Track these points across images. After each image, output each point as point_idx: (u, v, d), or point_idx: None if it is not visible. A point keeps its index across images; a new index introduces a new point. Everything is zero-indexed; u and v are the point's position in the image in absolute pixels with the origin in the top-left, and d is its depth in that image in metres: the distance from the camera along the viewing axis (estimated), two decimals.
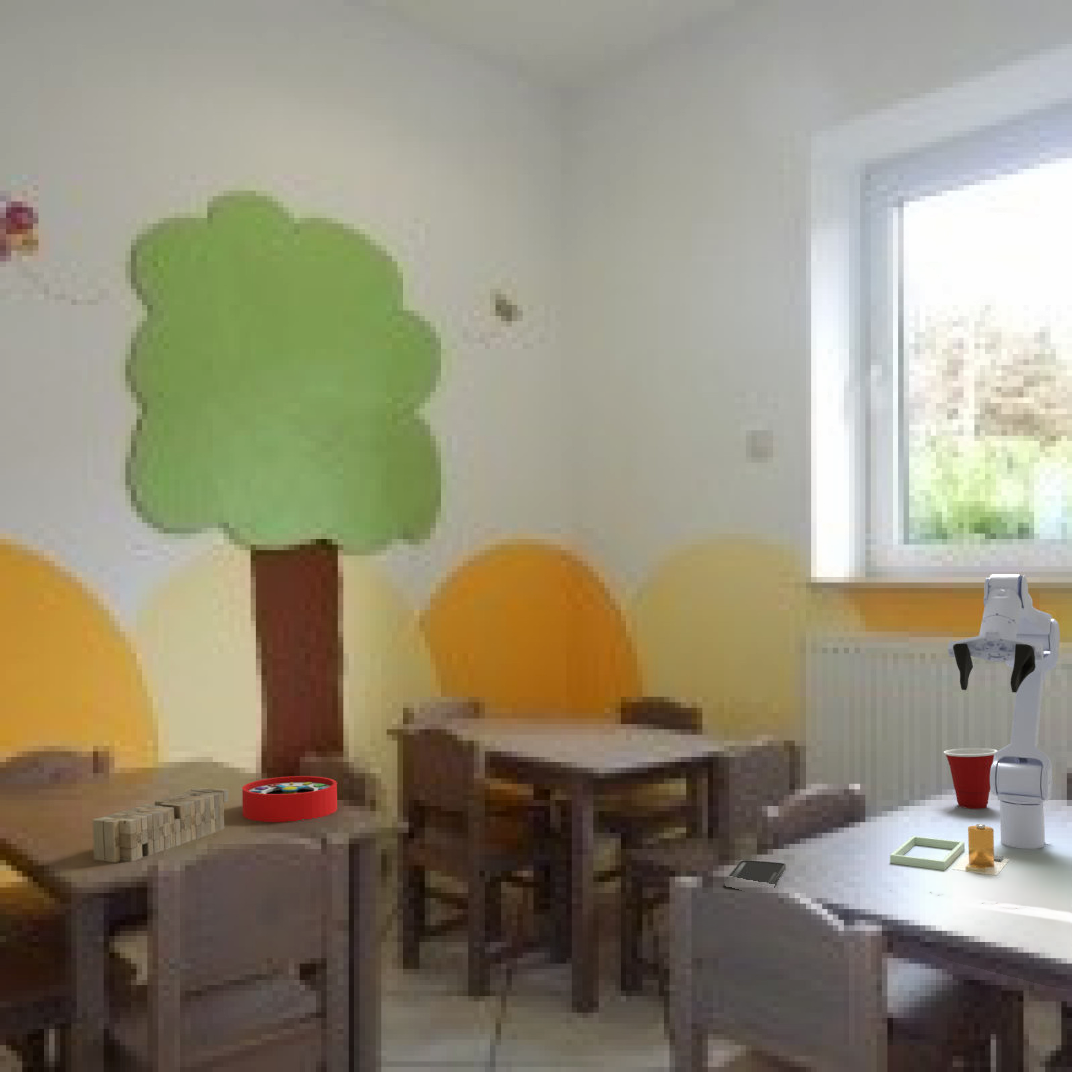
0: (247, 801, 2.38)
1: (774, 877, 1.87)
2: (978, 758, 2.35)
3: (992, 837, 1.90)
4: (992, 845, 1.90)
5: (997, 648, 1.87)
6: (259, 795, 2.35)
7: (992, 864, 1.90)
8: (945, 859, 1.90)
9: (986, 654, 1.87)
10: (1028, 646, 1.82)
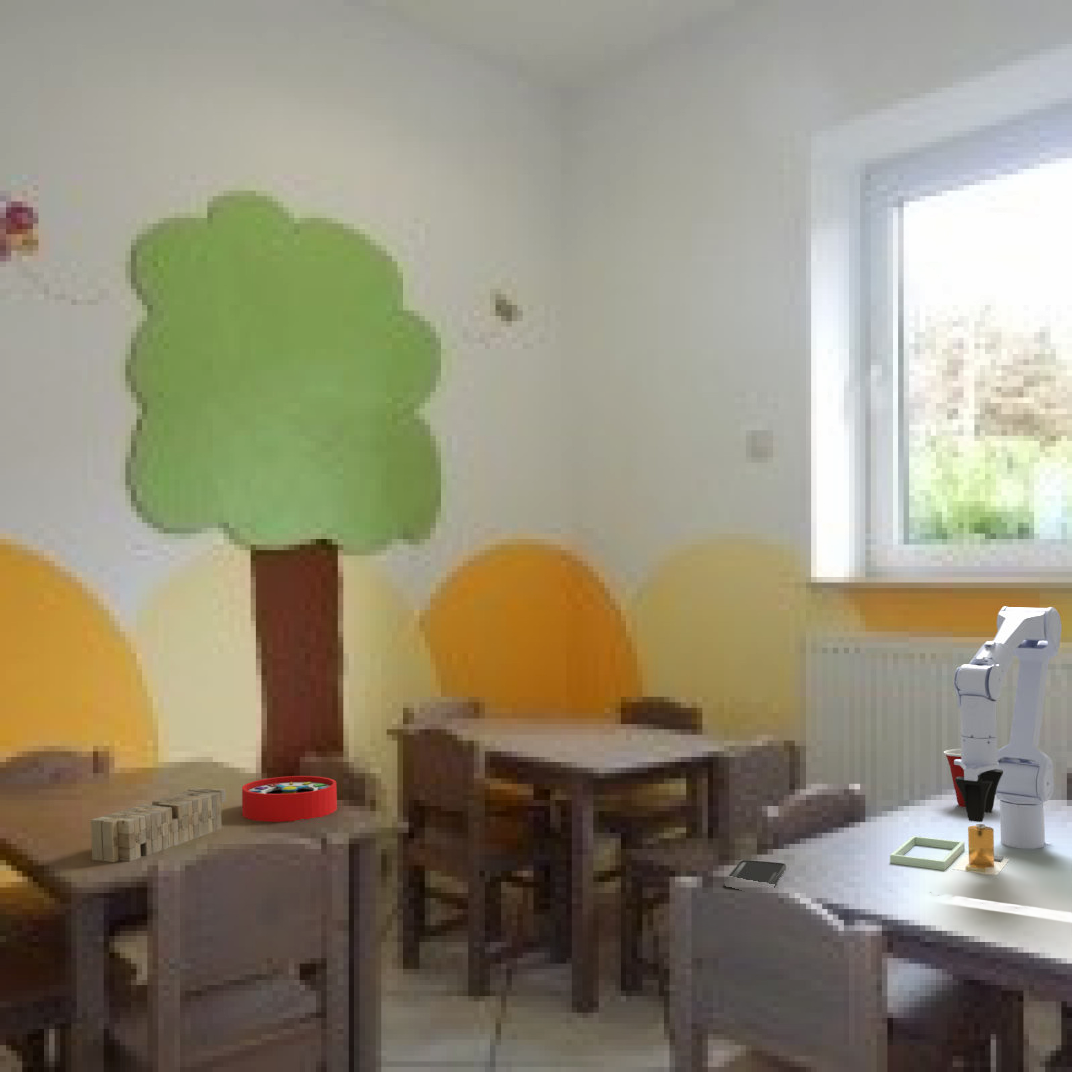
0: (247, 801, 2.38)
1: (774, 877, 1.87)
2: None
3: (992, 837, 1.90)
4: (992, 845, 1.90)
5: None
6: (259, 795, 2.36)
7: (992, 864, 1.90)
8: (945, 859, 1.90)
9: (981, 771, 1.92)
10: (955, 780, 1.88)
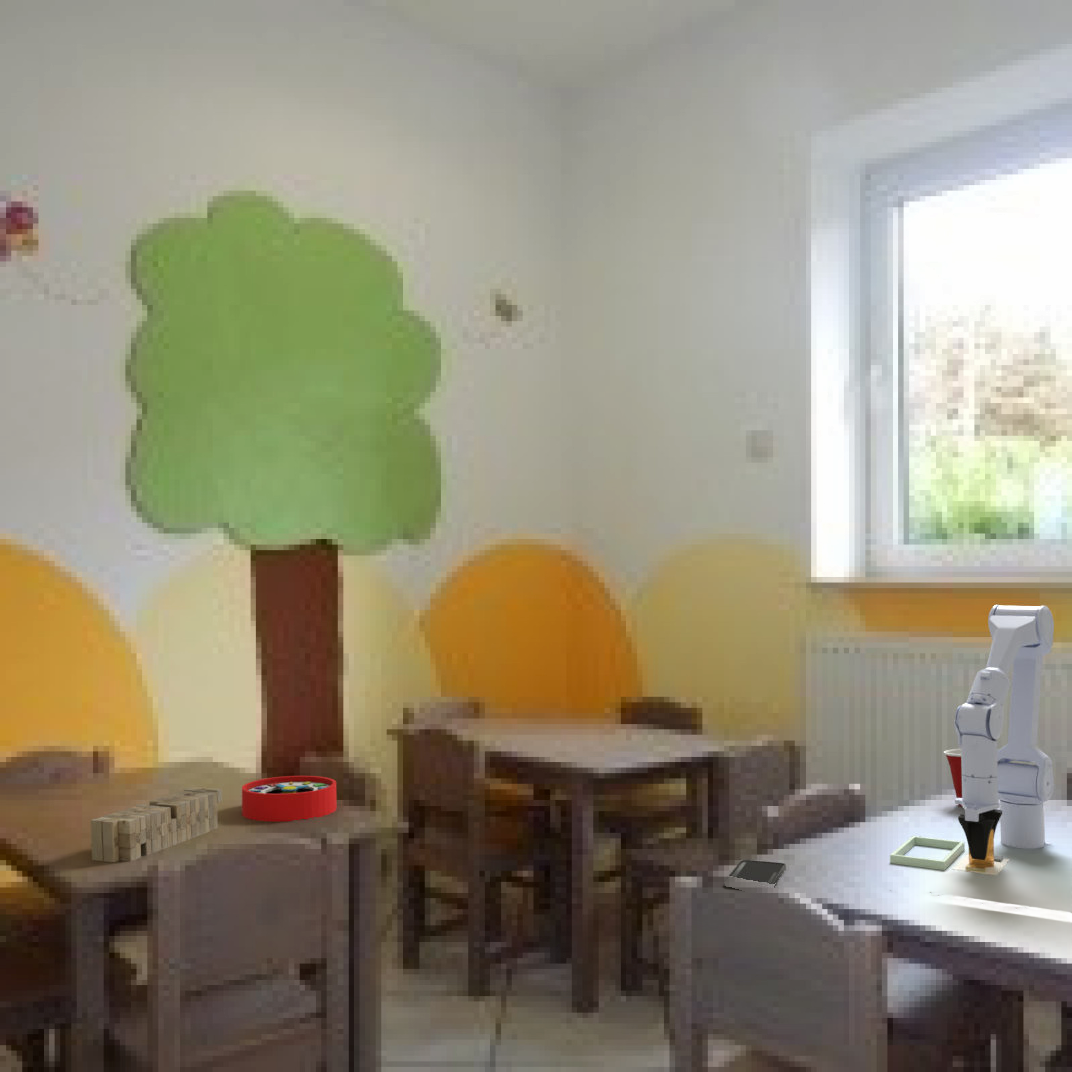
0: (246, 801, 2.38)
1: (774, 877, 1.87)
2: None
3: (992, 837, 1.90)
4: (992, 845, 1.90)
5: None
6: (259, 795, 2.36)
7: (992, 864, 1.90)
8: (945, 859, 1.90)
9: None
10: (958, 818, 1.89)
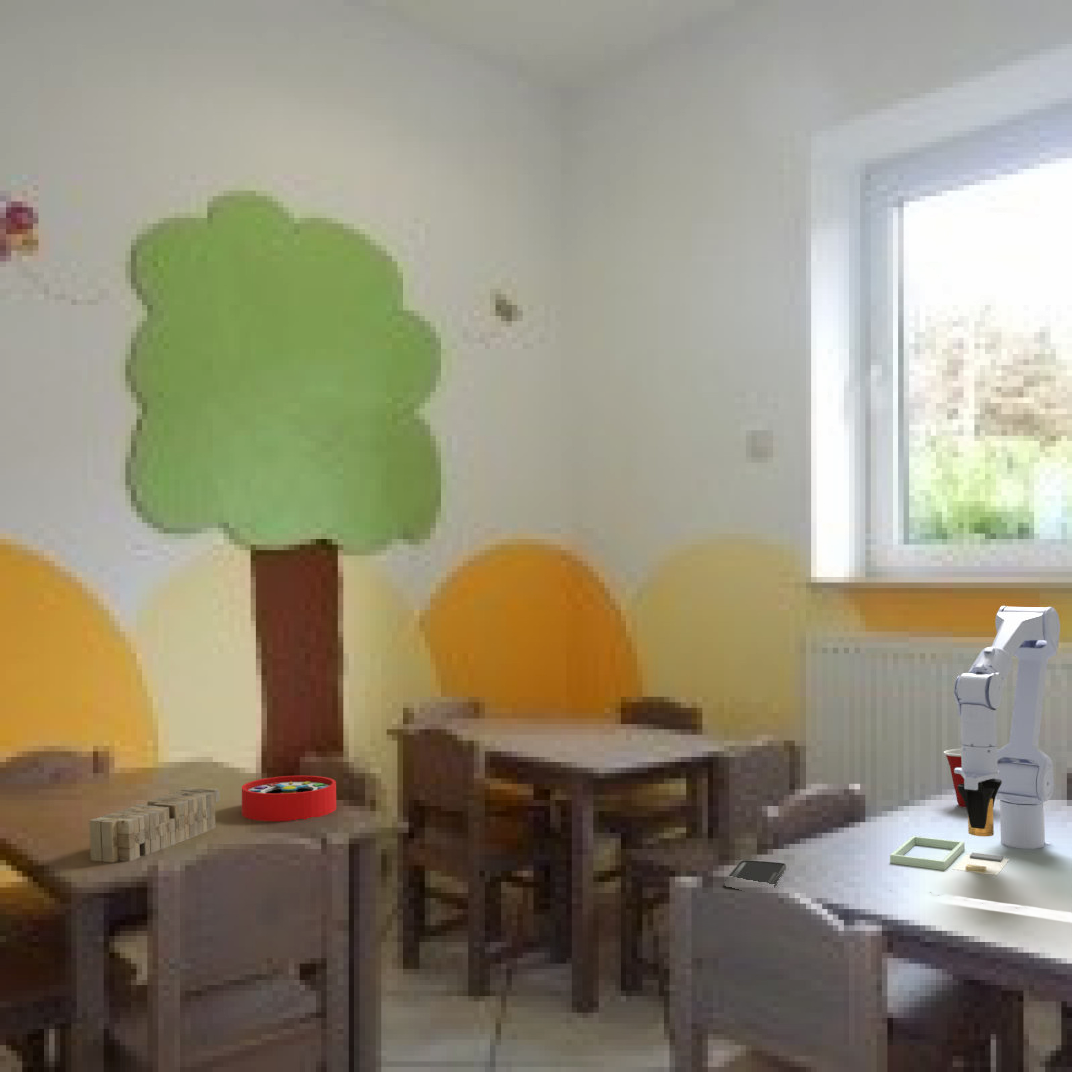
0: (246, 801, 2.39)
1: (774, 877, 1.87)
2: None
3: (991, 806, 1.90)
4: (991, 814, 1.90)
5: None
6: (258, 794, 2.36)
7: (991, 833, 1.90)
8: (945, 859, 1.90)
9: None
10: (958, 787, 1.89)
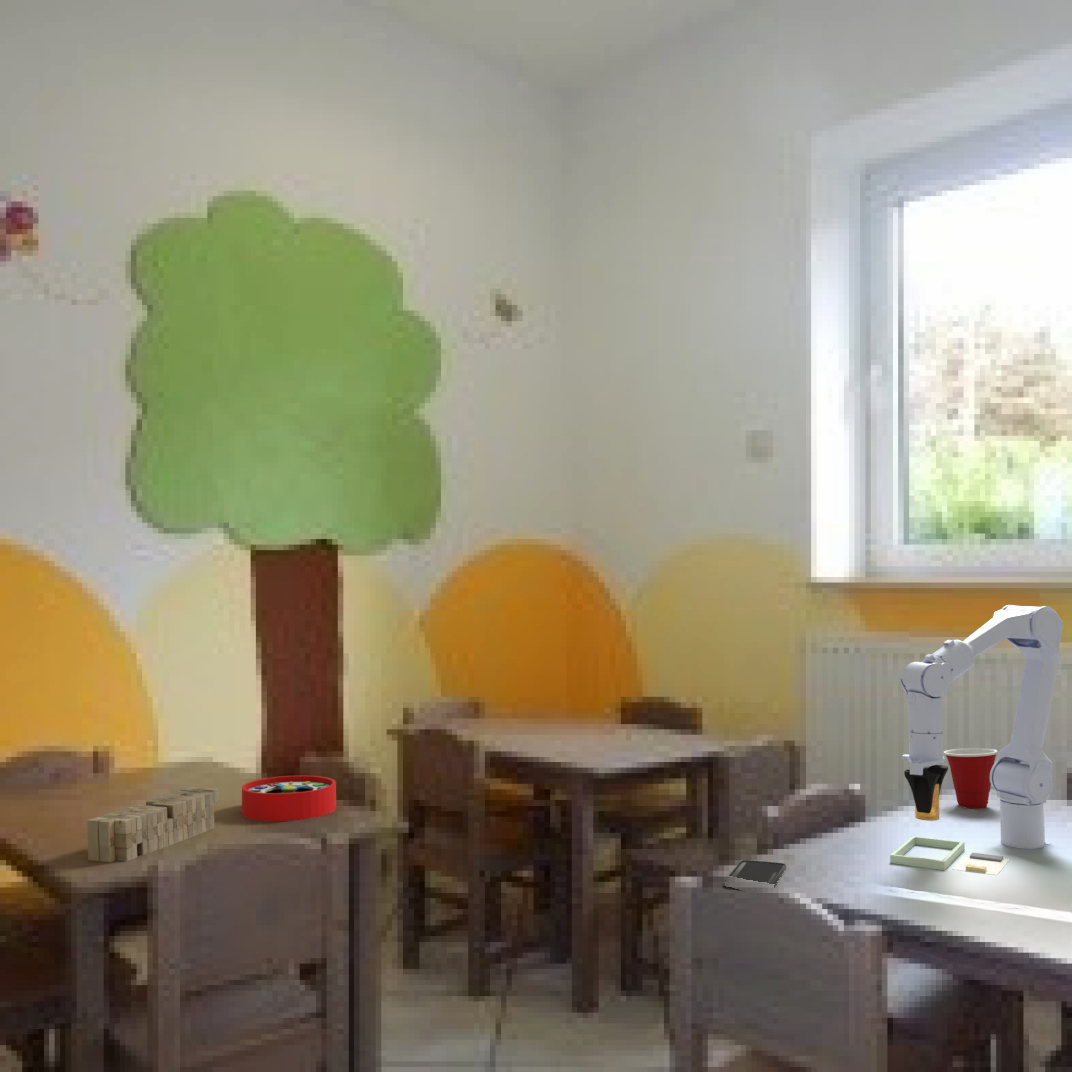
0: (246, 801, 2.39)
1: (774, 877, 1.87)
2: (978, 758, 2.35)
3: (937, 791, 1.96)
4: (937, 799, 1.96)
5: None
6: (258, 794, 2.36)
7: (937, 817, 1.95)
8: (945, 859, 1.90)
9: None
10: (904, 773, 1.95)
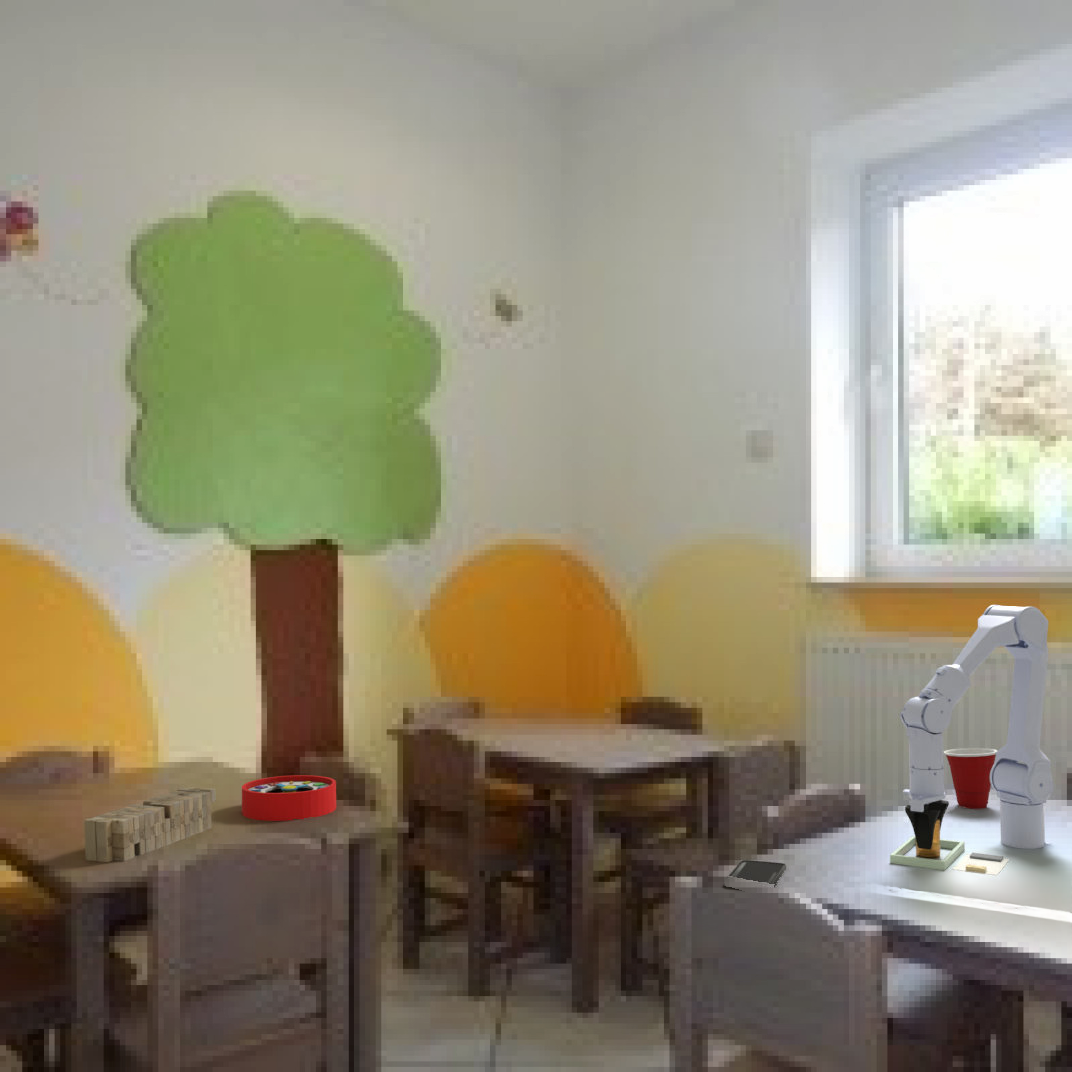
0: (246, 800, 2.39)
1: (774, 877, 1.87)
2: (978, 758, 2.35)
3: (938, 828, 1.96)
4: (938, 835, 1.96)
5: None
6: (258, 794, 2.37)
7: (938, 854, 1.95)
8: (945, 859, 1.90)
9: None
10: (905, 809, 1.95)
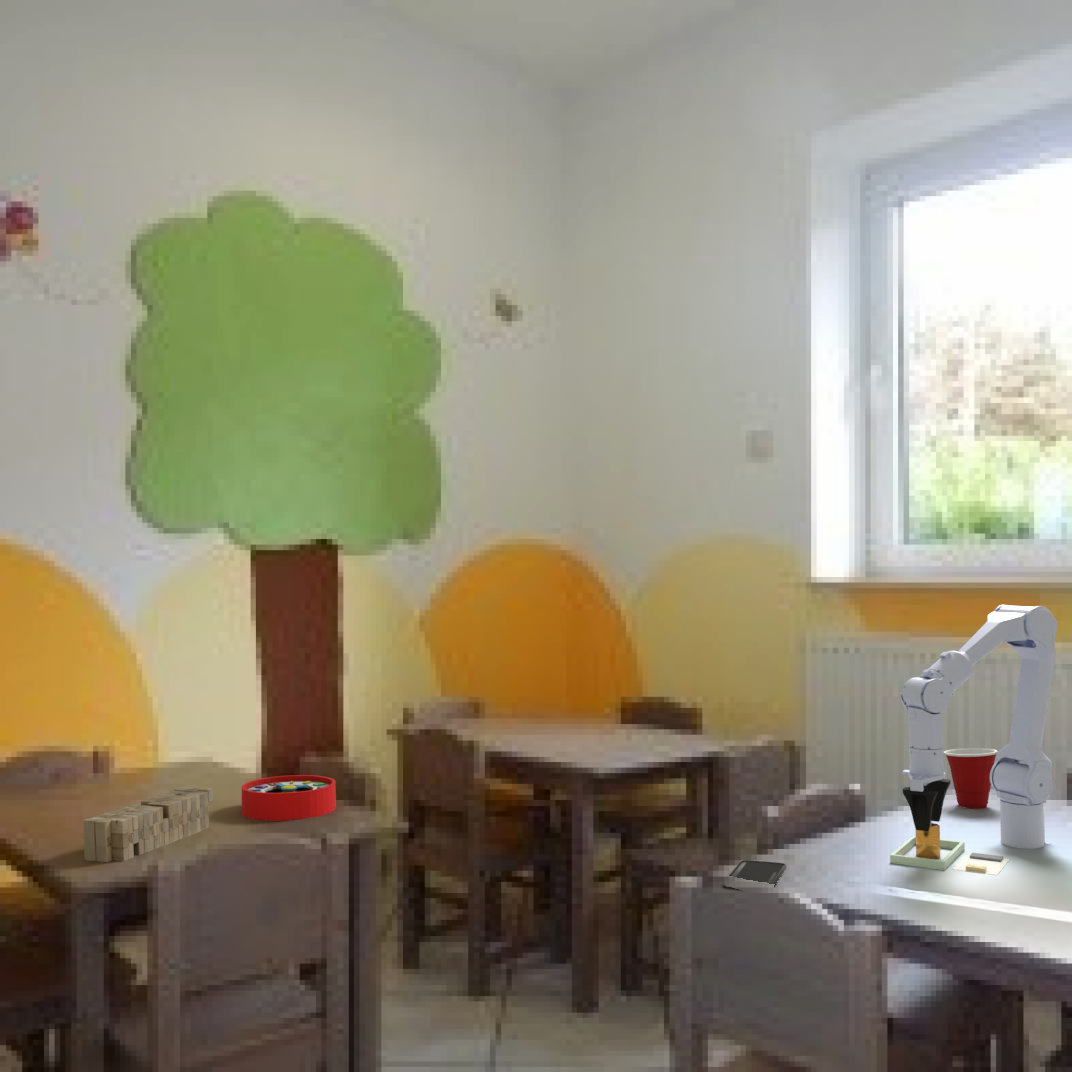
0: (245, 800, 2.39)
1: (774, 877, 1.87)
2: (978, 758, 2.35)
3: (938, 833, 1.96)
4: (938, 841, 1.96)
5: None
6: (257, 794, 2.37)
7: None
8: (945, 859, 1.90)
9: None
10: None
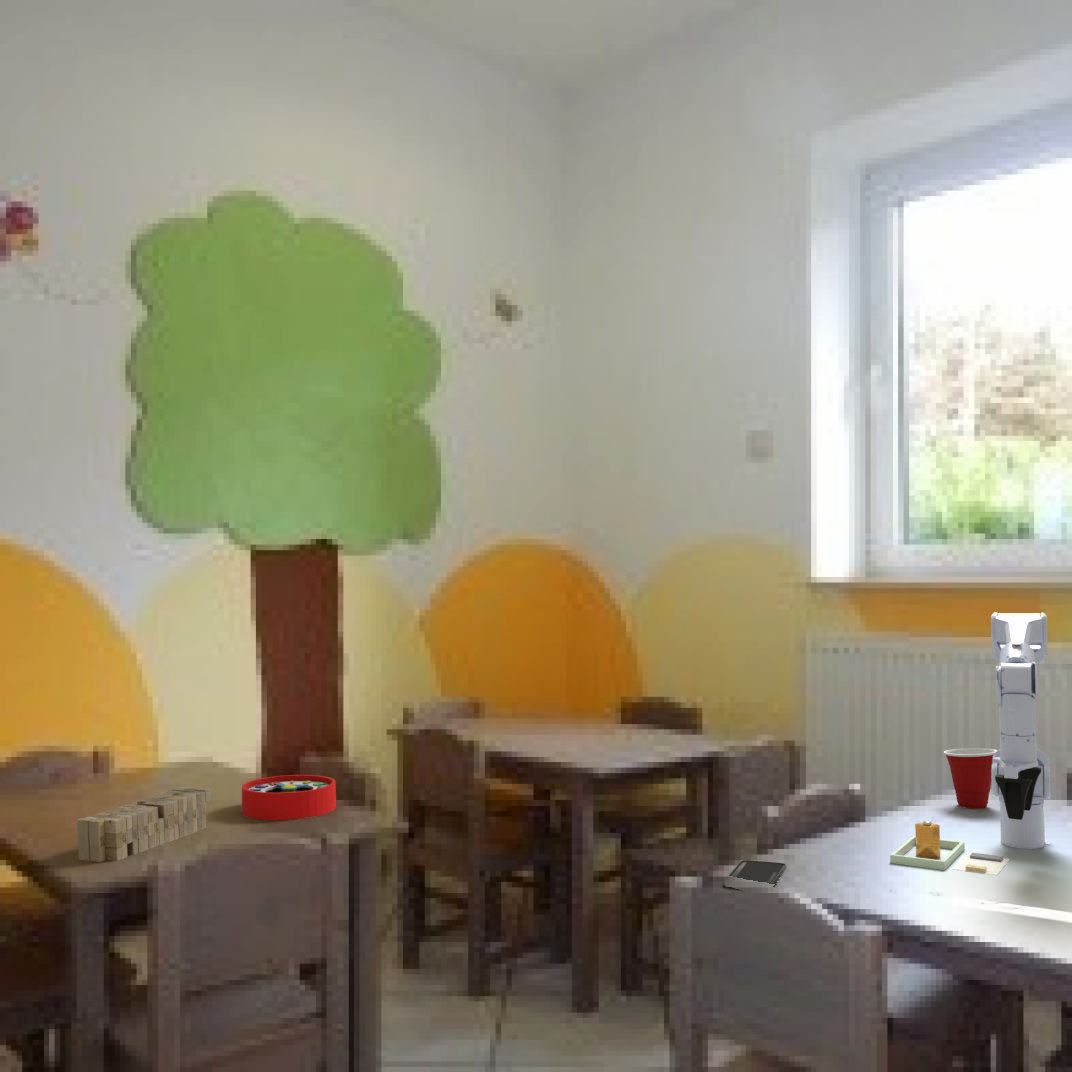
0: (245, 800, 2.40)
1: (774, 877, 1.87)
2: (978, 758, 2.35)
3: (938, 833, 1.96)
4: (938, 841, 1.96)
5: None
6: (257, 793, 2.37)
7: None
8: (945, 859, 1.90)
9: None
10: (995, 778, 1.89)
